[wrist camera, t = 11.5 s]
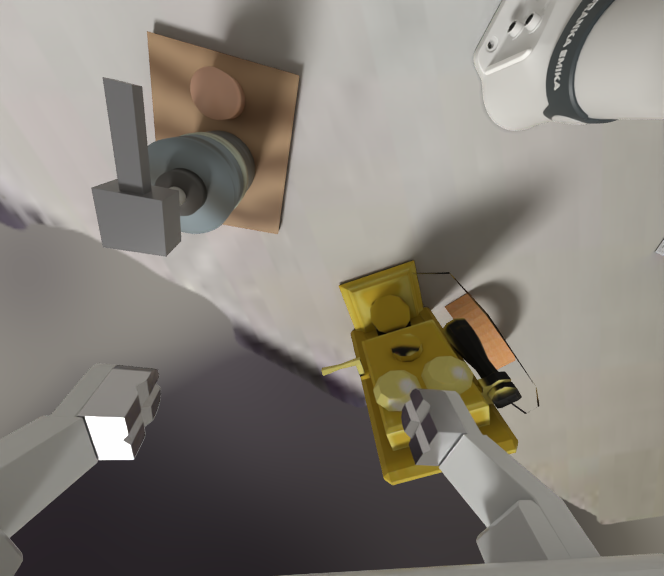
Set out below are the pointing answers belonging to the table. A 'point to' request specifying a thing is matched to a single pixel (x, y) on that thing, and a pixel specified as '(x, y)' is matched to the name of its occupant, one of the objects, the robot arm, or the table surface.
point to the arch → (482, 330)
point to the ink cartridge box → (660, 249)
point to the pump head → (134, 183)
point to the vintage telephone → (418, 365)
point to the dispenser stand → (220, 139)
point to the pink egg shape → (217, 94)
